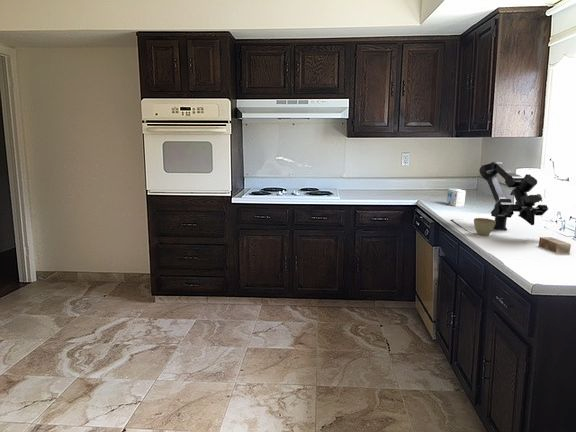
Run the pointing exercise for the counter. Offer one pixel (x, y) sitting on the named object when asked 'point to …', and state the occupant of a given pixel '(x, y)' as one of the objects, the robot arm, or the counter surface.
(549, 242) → the walnut block
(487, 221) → the flower pot
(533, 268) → the counter surface
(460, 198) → the light bulb box
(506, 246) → the counter surface
